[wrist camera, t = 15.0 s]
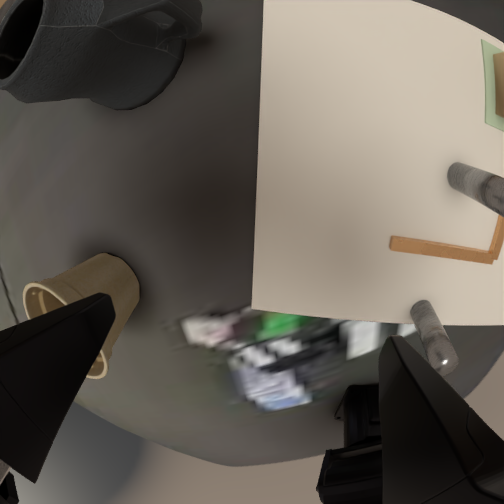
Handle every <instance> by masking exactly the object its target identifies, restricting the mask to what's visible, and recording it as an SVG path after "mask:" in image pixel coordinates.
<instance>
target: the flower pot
mask: <svg viewBox="0 0 504 504" xmlns="http://www.w3.org/2000/svg"><path fill="white" fill-rule="evenodd" d="M99 292H102V293H106V294H109V295H110V296H111V298H112V301H113V305H114V309H115V312H116V318H115V321H114V323H113V325H112V327H111V329H110V332H109V334H108V336H107V338H106V340H105V342H104V344H103V347H102V349H101V351H100V353H99V355H98V357H97V358H96V360H95V362H94V364H93V365H92V367H91V369H90V371H89V373H88V374H87V376H86V377H88V378H92V379H100V378H103V377H104V376H105V375H106V374H107V372H108V369H109V363H108V361H109V359H110V357H111V354H112V347H113V346H114V344H115V342H116V340H117V338H118V336H119V334H120V333H121V331H122V329H123V327H124V325H125V324H126V322H127V320H128V318H129V317H130V315H131V313H132V311H133V310H134V308H135V307H136V305H137V304H138V302H139V299H140V297H139V283H138V280H137V278H136V276H135V274H134V272H133V271H132V270H131V268H130V267H129V266H128V265H127V264H126V263H125V262H124V261H123V260H122V259H120V258H119V257H114V256H111V255H109V254H107V253H100V254H98V255H96V256H94V257H92V258H90V259H88V260H86V261H84V262H83V263H81V264H79V265H77V266H75V267H73V268H71V269H69V270H67V271H65V272H63V273H61V274H59V275H58V276H56V277H54V278H52V279H51V278H48V279H44V280H43V281H41V282H36V281H35V282H30V283H29V284H27V285H26V286H25V288H24V291H23V303H24V307H25V311H26V314H27V316H28V319H29V320H30V319H32V318H35V317H37V316H40V315H42V314H45V313H47V312H50V311H52V310H55V309H57V308H60V307H62V306H65V305H68V304H70V303H73V302H75V301H78V300H80V299H83V298H86V297H88V296H91V295H93V294H96V293H99Z"/></svg>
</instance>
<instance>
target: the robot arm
mask: <svg viewBox="0 0 504 504" xmlns="http://www.w3.org/2000/svg"><path fill="white" fill-rule="evenodd" d="M115 318H116V312H115V309H114V305H113V301H112V298H111V296H110V295H109V294H106V293H102V292H99V293H96V294H93V295H91V296H88V297H86V298H83V299H80V300H78V301H75V302H73V303H70V304H68V305H65V306H62V307H60V308H57V309H55V310H52V311H50V312H47V313H45V314H42V315H40V316H37V317H35V318H32V319H30V320H27V321H25V322H22V323H20V324H18V325H15V326H12V327H10V328H7V329H5V330H2V331H0V504H18V502H19V499H18V495H17V491H16V486H15V481H14V476H13V474H11V473H10V471H9V470H10V468H13V469H14V470H15V471H17V472H18V473H20V474H21V475H22V476H24V477H25V478H27V479H28V480H30V481H31V482H33V483H36V481H37V479H38V476H39V474H40V472H41V469H42V467H43V464H44V462H45V460H46V457H47V455H48V452H49V450H50V448H51V446H52V444H53V441H54V439H55V437H56V435H57V433H58V430H59V428H60V426H61V424H62V422H63V420H64V418H65V416H66V414H67V412H68V410H69V408H70V406H71V404H72V402H73V400H74V398H75V397H76V395H77V393H78V391H79V389H80V387H81V385H82V383H83V382H84V380H85V378H86V376H87V374H88V373H89V371H90V369H91V367H92V365H93V364H94V362H95V360H96V358H97V357H98V355H99V353H100V351H101V349H102V347H103V344H104V342H105V340H106V338H107V336H108V334H109V332H110V329H111V327H112V325H113V323H114V321H115ZM335 419H336V420H344V448H340V449H334V450H332V449H330V450H326V453H325V457H324V460H323V463H322V468H321V472H320V476H319V480H318V484H317V487H316V491H317V492H318V493H319V497H320V500H321V502H322V503H323V504H504V441H503V440H502V439H501V438H500V437H499V436H498V435H497V434H496V433H495V432H494V431H493V430H492V429H491V428H490V427H489V426H488V425H487V424H486V423H485V422H484V421H483V420H482V419H481V418H480V417H479V416H478V415H477V414H476V412H475V411H474V410H473V409H472V408H471V407H470V408H469V405H468V404H467V403H466V402H465V400H464V399H463V398H462V397H461V396H460V395H459V394H458V393H457V392H456V391H455V390H454V389H453V388H452V387H451V385H450V384H449V383H448V382H447V381H446V380H445V379H444V378H443V377H442V376H441V375H440V374H439V373H438V372H437V371H436V370H435V369H434V368H433V367H432V366H431V365H430V364H429V363H428V362H427V361H426V360H425V359H424V358H423V357H422V356H421V355H420V354H419V353H418V352H417V351H416V350H415V349H414V348H413V347H412V346H411V345H410V344H409V343H408V342H407V341H406V340H405V339H404V338H403V337H402V336H399V335H390V336H388V337H387V339H386V341H385V344H384V346H383V348H382V351H381V353H380V356H379V386H350V387H349V388H348V389H347V391H346V393H345V395H344V397H343V400H342V402H341V404H340V406H339V408H338V410H337V412H336V414H335Z"/></svg>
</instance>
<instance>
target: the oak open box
mask: <svg viewBox="0 0 504 504" xmlns="http://www.w3.org/2000/svg"><path fill="white" fill-rule="evenodd" d="M493 62H494V74H495V100H496V107H495V114H496V115H498V116H500V117H502V118H504V52H501V53H497V54H493Z"/></svg>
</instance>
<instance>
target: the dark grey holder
mask: <svg viewBox="0 0 504 504" xmlns="http://www.w3.org/2000/svg"><path fill="white" fill-rule="evenodd" d="M201 14H202V4H201V2H200V1H199V0H16V1H15V2H14V3H13V5H12V6H11V8H10V9H9V11H8V12H7V13H6V15H5V17H4V18H3V20H2V22H1V24H0V89H2V90H7V91H8V92H9V93H11V94H12V95H13V96H14V97H15V98H16V99H17V100H19V101H22V102H24V103H35V102H47V101H60V100H66V99H71V98H90V99H91V100H92V101H93V102H96V103H99V104H101V105H104V106H107V107H110V108H112V109H115V110H132V109H134V108H137V107H140V106H142V105H145V104H147V103H149V102H150V101H151V100H152V99H154V98H155V97H157V96H158V95H159V94H161V93H162V92H163V90H164V89H165V88H166V87H167V86H168V84H169V83H170V82H171V81H172V80H173V78H174V77H175V75H176V73H177V71H178V69H179V67H180V65H181V63H182V61H183V56H184V50H185V45H186V39H190V38H195V37H197V36H198V35H199V33H200V32H201V29H202V23H201Z"/></svg>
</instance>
